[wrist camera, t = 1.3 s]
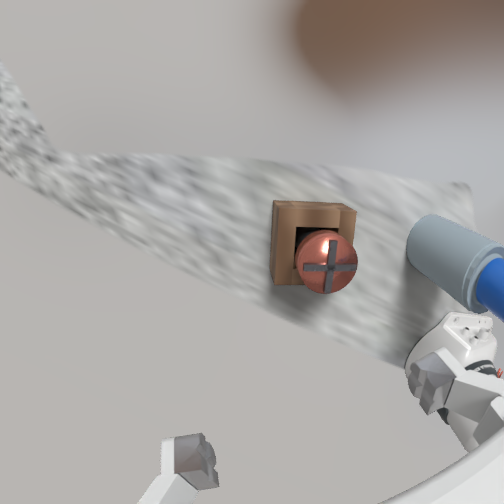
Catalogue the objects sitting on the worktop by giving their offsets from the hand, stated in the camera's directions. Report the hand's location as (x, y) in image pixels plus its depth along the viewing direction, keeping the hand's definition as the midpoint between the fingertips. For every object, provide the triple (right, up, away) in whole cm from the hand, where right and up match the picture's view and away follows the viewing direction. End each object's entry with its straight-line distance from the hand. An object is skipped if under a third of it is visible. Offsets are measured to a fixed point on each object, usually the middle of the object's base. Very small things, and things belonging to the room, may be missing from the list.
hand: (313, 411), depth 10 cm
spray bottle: (+25, +7, +31) cm, 40 cm away
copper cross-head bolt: (+5, +8, +29) cm, 31 cm away
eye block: (+5, +8, +29) cm, 31 cm away
